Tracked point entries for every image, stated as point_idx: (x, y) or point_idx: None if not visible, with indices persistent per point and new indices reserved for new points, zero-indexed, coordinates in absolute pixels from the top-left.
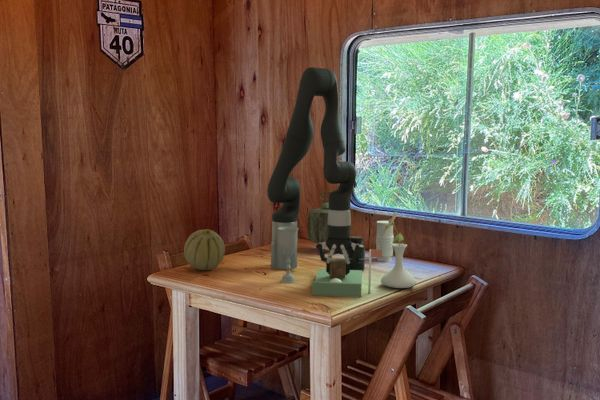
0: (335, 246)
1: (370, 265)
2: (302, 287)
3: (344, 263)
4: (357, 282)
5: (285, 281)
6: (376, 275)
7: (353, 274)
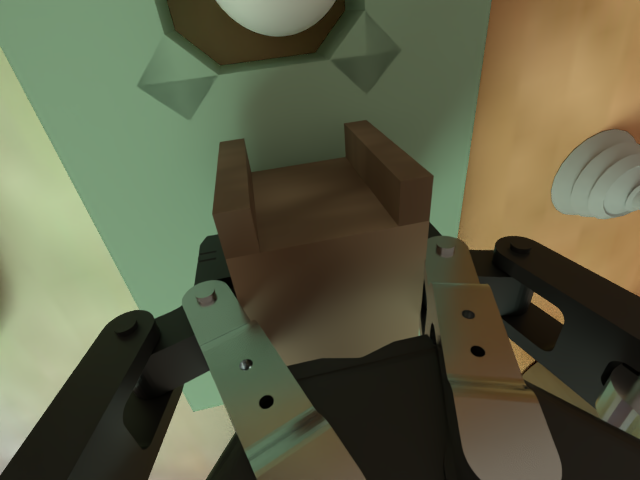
0: (479, 448)
1: None
2: (533, 47)
3: (227, 209)
4: (80, 109)
5: (625, 138)
6: None
7: None
